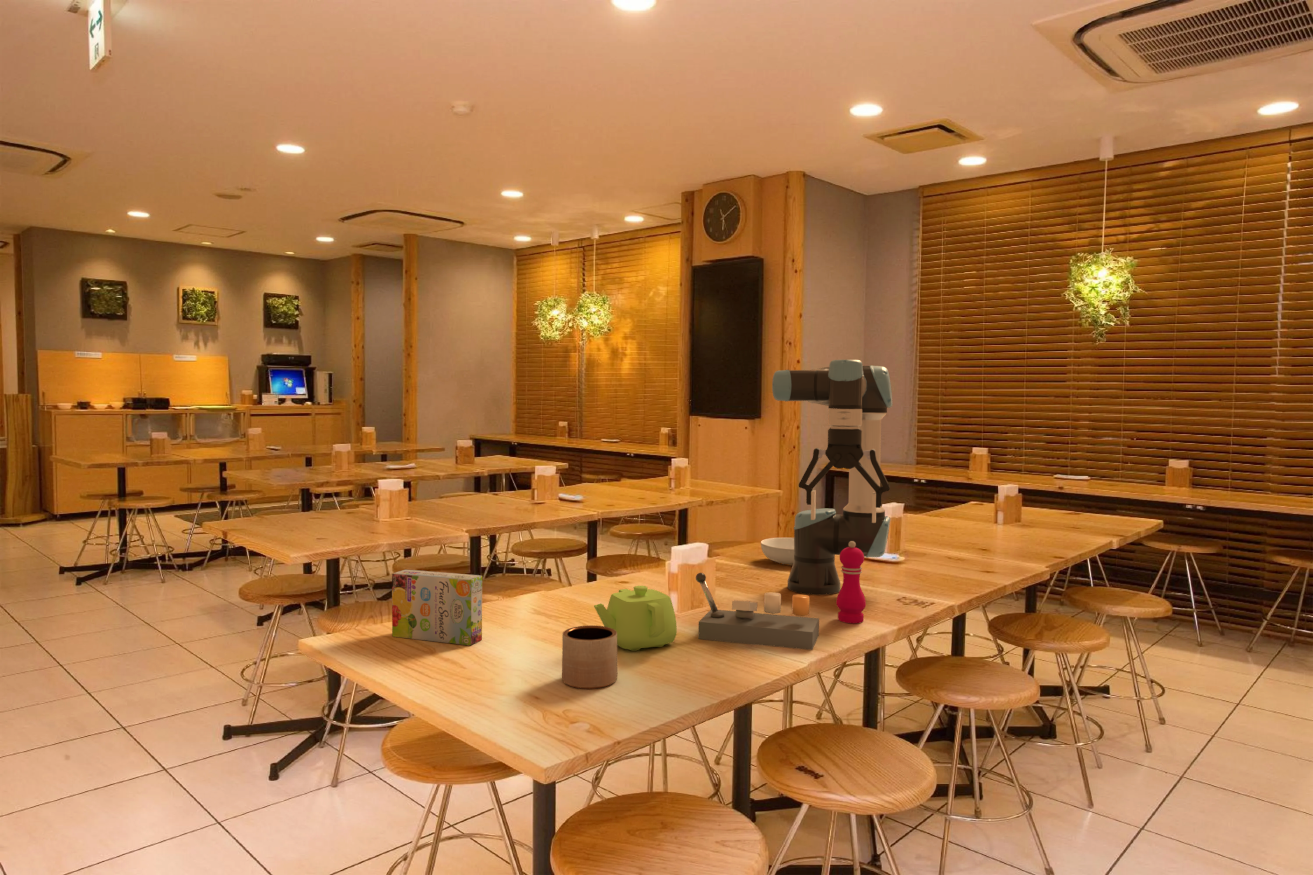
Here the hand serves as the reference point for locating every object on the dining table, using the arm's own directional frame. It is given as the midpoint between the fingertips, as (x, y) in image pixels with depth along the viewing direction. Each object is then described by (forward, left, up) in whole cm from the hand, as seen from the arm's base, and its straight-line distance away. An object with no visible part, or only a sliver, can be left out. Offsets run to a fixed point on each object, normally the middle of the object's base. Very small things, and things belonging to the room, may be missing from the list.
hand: (843, 520), depth 190 cm
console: (+4, -18, -28) cm, 33 cm away
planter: (+44, -44, -28) cm, 68 cm away
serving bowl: (-86, -24, -28) cm, 94 cm away
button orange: (+4, -9, -21) cm, 23 cm away
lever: (+4, -29, -23) cm, 37 cm away
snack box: (+29, -88, -28) cm, 97 cm away
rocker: (+4, -22, -22) cm, 31 cm away
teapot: (+19, -44, -28) cm, 56 cm away
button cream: (+4, -15, -21) cm, 27 cm away
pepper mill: (-18, +1, -28) cm, 33 cm away
